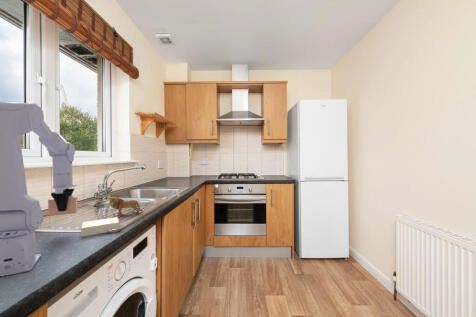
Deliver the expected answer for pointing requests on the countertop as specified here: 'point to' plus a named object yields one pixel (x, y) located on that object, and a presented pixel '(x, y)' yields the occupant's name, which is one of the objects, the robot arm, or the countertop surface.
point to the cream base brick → (99, 226)
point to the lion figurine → (123, 204)
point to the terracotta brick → (71, 208)
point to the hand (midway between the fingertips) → (63, 209)
